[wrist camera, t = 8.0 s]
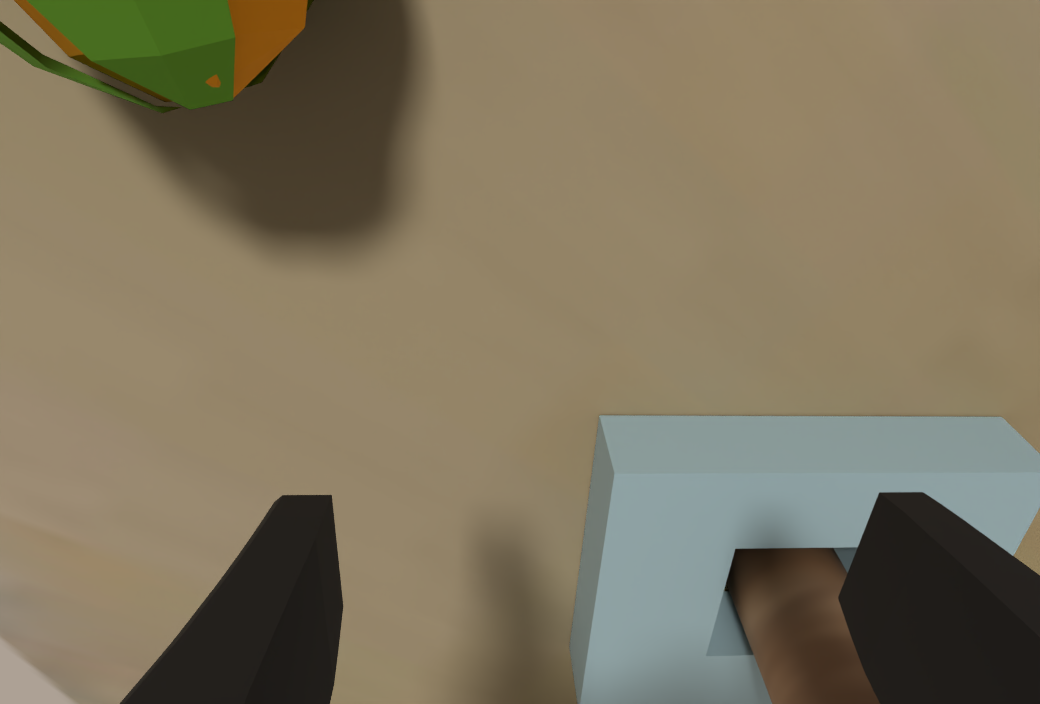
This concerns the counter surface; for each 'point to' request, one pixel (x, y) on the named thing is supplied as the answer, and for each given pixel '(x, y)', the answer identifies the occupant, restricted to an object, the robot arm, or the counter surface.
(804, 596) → the peg
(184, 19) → the corn
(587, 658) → the board
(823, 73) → the counter surface
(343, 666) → the counter surface
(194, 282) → the counter surface
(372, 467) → the counter surface
